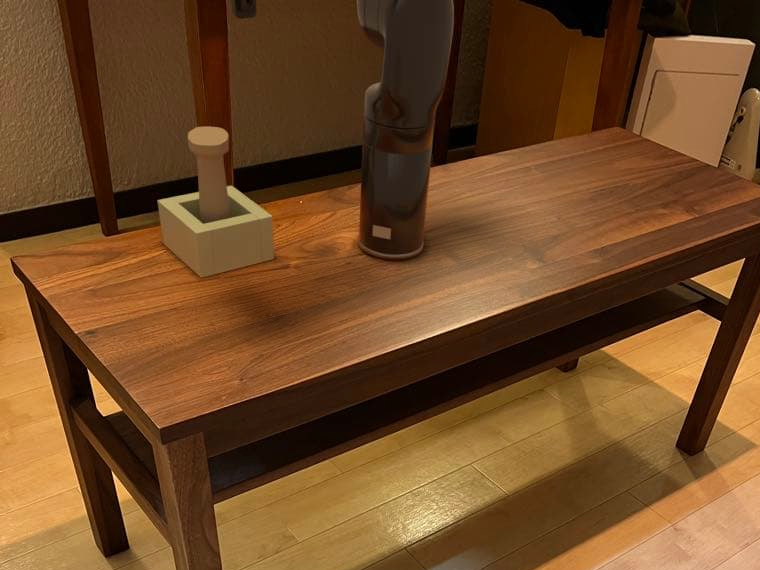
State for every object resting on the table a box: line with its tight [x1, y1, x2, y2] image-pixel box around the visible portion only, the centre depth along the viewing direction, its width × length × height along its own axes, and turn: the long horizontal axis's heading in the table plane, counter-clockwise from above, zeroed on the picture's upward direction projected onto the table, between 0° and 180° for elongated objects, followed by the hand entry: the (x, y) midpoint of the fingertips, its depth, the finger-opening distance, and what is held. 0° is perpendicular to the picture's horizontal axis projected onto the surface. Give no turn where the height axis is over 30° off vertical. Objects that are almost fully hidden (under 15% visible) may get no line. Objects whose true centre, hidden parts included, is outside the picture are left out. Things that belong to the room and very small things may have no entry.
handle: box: [187, 126, 230, 224], centre depth 104 cm, size 5×6×15 cm
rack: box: [157, 185, 275, 278], centre depth 107 cm, size 11×11×6 cm
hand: (222, 5), depth 77 cm, fingers open, 8 cm apart
